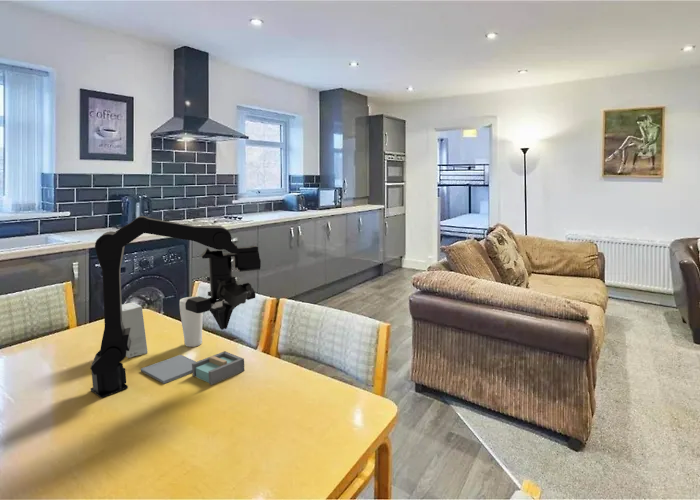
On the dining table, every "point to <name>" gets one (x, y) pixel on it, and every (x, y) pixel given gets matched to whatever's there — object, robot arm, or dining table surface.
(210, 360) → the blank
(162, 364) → the mat
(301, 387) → the dining table surface
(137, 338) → the skincare box
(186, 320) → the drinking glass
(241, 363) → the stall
